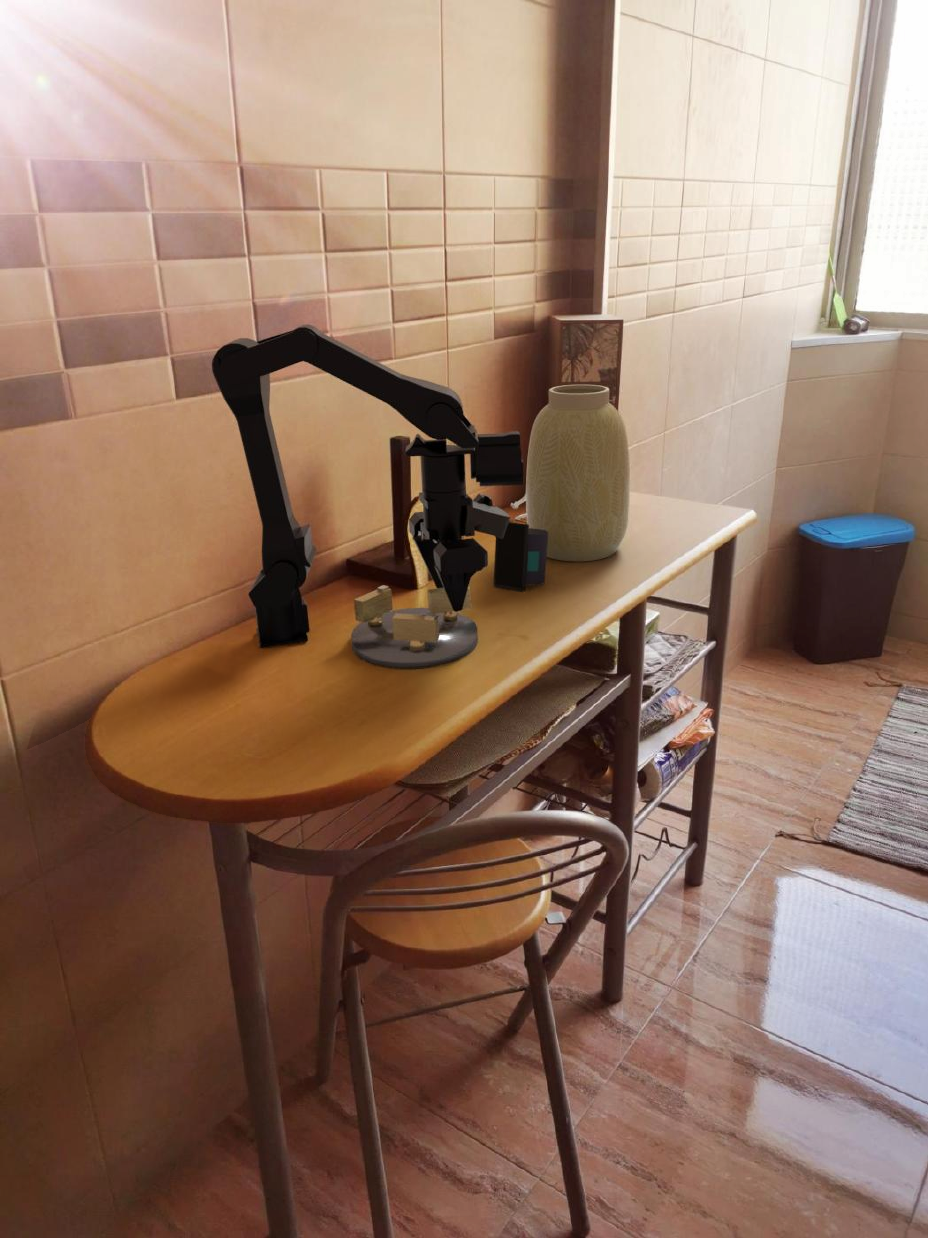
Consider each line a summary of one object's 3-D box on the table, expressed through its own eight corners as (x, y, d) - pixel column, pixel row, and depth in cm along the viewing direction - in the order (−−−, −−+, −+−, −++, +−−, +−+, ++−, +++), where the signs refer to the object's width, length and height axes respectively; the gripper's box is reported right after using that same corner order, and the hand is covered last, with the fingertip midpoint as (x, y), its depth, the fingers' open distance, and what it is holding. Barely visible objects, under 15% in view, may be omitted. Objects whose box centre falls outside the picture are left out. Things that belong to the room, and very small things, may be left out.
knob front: (394, 651, 119) (391, 615, 117) (398, 644, 121) (396, 609, 119) (436, 653, 118) (434, 618, 116) (440, 647, 120) (438, 612, 118)
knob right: (432, 624, 127) (430, 591, 125) (428, 619, 128) (427, 586, 126) (471, 619, 128) (470, 586, 126) (467, 614, 130) (466, 581, 128)
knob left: (366, 633, 125) (363, 599, 123) (355, 630, 126) (352, 596, 124) (394, 619, 129) (392, 586, 127) (384, 616, 130) (381, 584, 128)
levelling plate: (364, 677, 116) (362, 661, 115) (342, 627, 131) (341, 612, 130) (494, 657, 120) (493, 642, 119) (458, 610, 135) (457, 596, 134)
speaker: (518, 594, 139) (520, 526, 136) (492, 587, 144) (493, 520, 141) (553, 586, 144) (556, 520, 141) (528, 579, 148) (530, 515, 145)
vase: (556, 572, 148) (557, 402, 138) (509, 543, 163) (506, 387, 153) (647, 555, 155) (655, 391, 144) (594, 528, 169) (597, 377, 159)
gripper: (526, 498, 115) (527, 615, 121) (482, 465, 131) (485, 569, 137) (438, 508, 112) (444, 627, 118) (405, 473, 128) (411, 579, 135)
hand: (448, 598), depth 127 cm, fingers open, 9 cm apart
